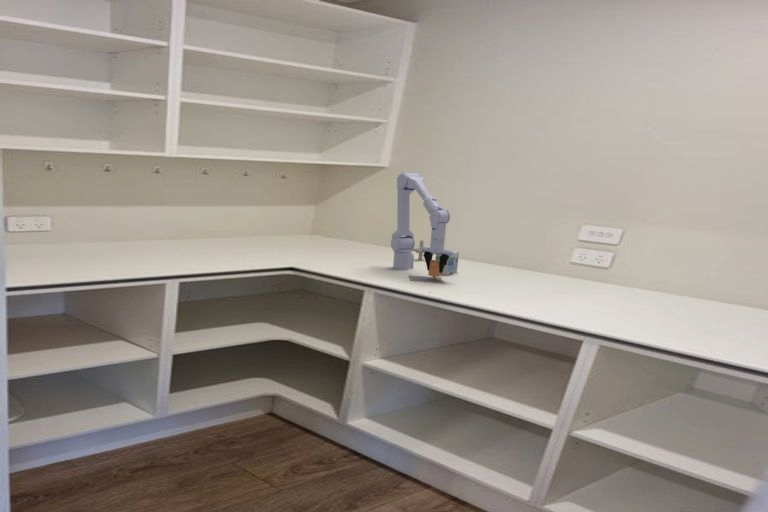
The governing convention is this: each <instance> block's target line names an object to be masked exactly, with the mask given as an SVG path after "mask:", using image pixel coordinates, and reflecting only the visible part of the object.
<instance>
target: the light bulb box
mask: <svg viewBox="0 0 768 512" xmlns="http://www.w3.org/2000/svg"><path fill="white" fill-rule="evenodd" d="M447 250H448V251H452V252H454V256H453V257H450V256H449V259H448V260H447V262H446V264H445V266H444V269H443V272H442V273H441V276H444V277H445V276H446V277H448V276H451V275H455V274H456V273H458V266H459V256H460V252H459V251H454V250H451V249H450V250H449V249H447ZM440 256H442V255H438V254H435V260H439V261H440Z"/></svg>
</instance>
